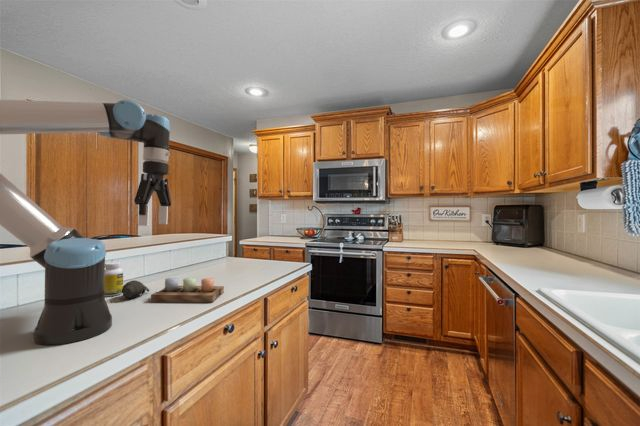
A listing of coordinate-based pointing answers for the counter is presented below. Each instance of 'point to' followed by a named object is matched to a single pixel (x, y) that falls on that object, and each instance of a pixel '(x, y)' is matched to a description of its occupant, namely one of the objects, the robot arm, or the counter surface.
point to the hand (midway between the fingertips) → (153, 224)
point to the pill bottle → (113, 279)
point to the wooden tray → (188, 295)
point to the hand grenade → (133, 289)
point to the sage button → (189, 284)
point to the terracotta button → (207, 285)
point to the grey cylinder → (171, 284)
